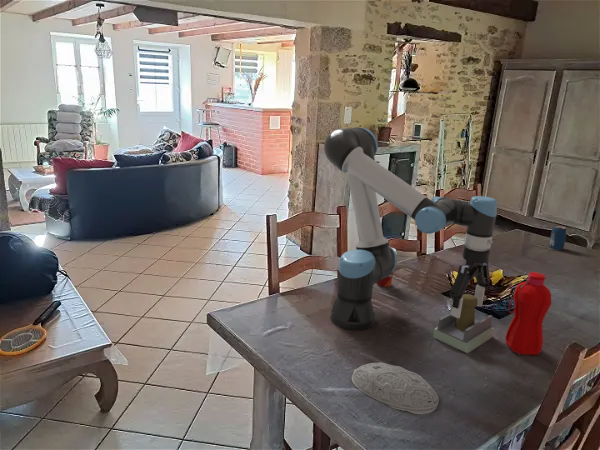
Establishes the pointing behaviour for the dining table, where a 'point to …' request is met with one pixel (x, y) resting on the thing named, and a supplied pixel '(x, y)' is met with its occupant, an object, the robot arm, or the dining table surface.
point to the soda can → (558, 237)
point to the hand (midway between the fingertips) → (466, 310)
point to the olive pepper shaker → (467, 312)
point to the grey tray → (463, 333)
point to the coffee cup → (386, 281)
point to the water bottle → (529, 315)
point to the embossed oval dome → (395, 387)
